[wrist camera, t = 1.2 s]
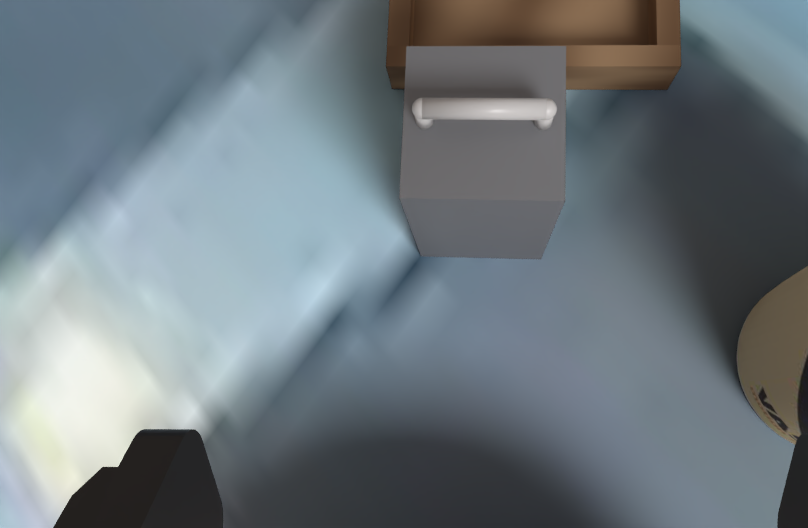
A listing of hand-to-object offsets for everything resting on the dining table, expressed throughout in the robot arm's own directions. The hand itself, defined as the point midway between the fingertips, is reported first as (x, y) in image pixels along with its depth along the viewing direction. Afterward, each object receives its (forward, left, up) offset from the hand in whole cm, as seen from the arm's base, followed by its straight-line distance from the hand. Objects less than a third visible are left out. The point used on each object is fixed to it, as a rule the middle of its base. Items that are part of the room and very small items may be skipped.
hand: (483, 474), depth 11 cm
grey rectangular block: (0, +11, -24) cm, 26 cm away
